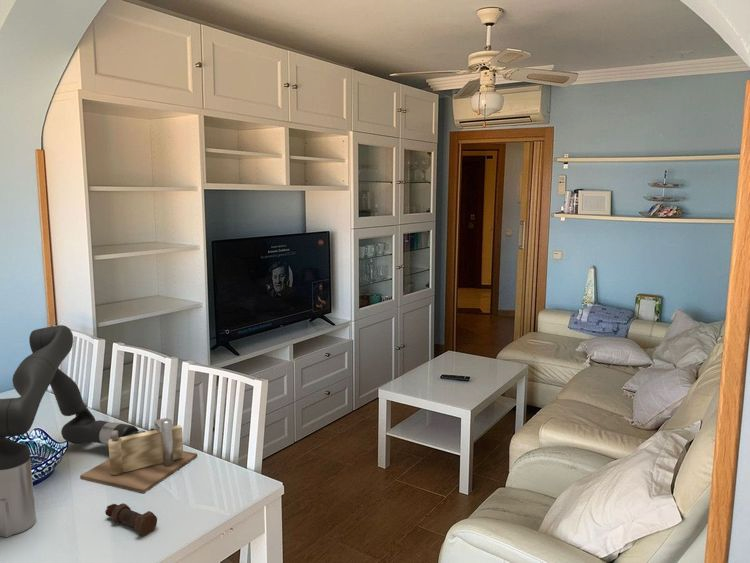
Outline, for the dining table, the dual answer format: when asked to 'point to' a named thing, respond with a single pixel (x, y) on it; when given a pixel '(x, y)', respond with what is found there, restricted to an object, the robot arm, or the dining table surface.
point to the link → (142, 450)
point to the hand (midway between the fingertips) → (163, 444)
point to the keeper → (166, 440)
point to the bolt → (132, 518)
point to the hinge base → (135, 473)
